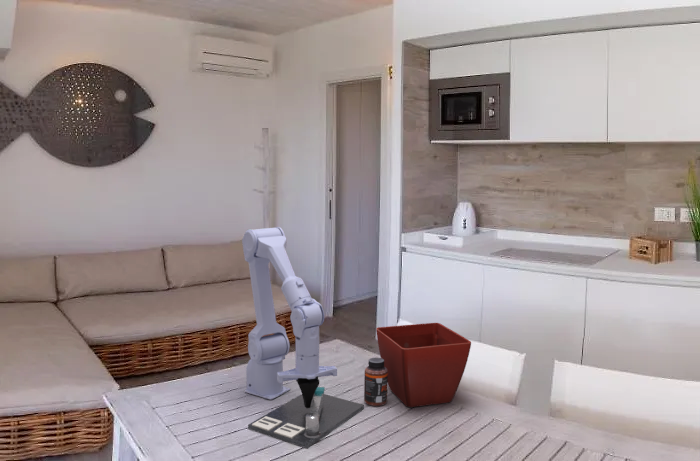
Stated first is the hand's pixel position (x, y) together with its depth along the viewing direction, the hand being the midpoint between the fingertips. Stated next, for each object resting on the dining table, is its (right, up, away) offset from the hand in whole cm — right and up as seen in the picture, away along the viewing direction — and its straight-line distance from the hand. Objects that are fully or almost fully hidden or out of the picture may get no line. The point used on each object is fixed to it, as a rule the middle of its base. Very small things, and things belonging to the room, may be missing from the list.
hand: (307, 406), depth 144 cm
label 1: (-9, -3, -7) cm, 11 cm away
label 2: (-3, -4, -10) cm, 11 cm away
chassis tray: (0, -2, -2) cm, 3 cm away
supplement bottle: (+17, -1, +8) cm, 19 cm away
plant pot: (+29, -1, +12) cm, 32 cm away
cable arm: (+2, -1, -3) cm, 4 cm away
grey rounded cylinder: (+2, -4, -12) cm, 13 cm away
